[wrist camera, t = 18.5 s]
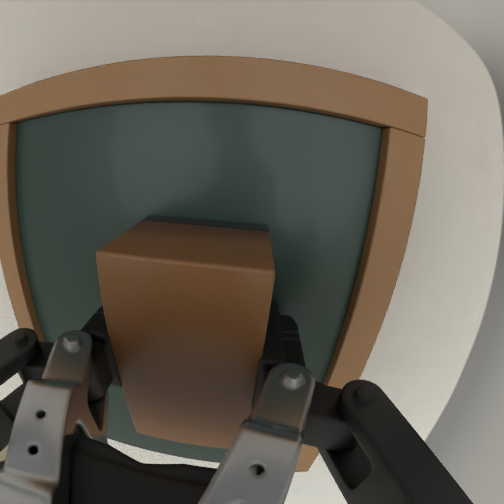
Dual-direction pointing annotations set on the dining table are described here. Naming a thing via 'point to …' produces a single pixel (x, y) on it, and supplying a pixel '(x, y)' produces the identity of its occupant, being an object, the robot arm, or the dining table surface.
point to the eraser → (188, 323)
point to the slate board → (213, 193)
